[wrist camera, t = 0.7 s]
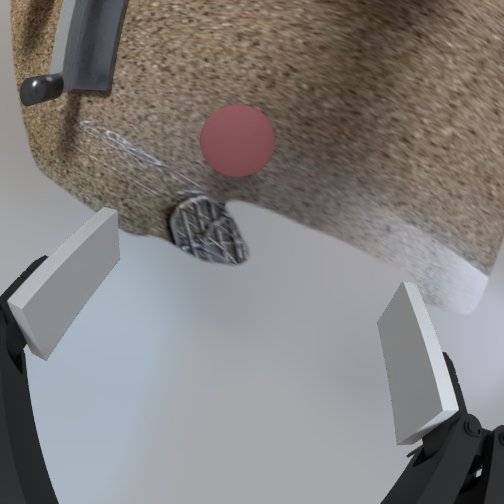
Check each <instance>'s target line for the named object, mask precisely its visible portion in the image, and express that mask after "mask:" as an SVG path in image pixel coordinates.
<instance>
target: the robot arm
mask: <svg viewBox="0 0 504 504" xmlns="http://www.w3.org/2000/svg"><path fill="white" fill-rule="evenodd" d="M119 260H120V252H119V236H118V210H115V209H110V208H106V207H103V208H102V209H101V210H100V211H98V212H97V213H96V214H95V215H94V216H93V217H91V218H90V219H89V220H88V221H87V222H86V223H85V224H83V225H82V226H81V227H80V228H79V229H78V230H77V231H76V232H74V233H73V235H71V236H70V237H69V238H68V239H67V240H66V241H65V242H64V243H63V244H62V245H60V246H59V247H58V249H56V250H55V251H54V252H53V253H52V254H51V255H50V256H49V257H48V256H46V255H45V256H43V257H41V258H39V259H37V260H35V261H34V262H33V263H32V264H31V265H30V266H29V267H28V268H27V269H26V271H24V272H23V273H22V274H21V275H20V277H18V278H17V279H16V280H15V281H14V282H13V283H12V284H11V285H10V287H9V288H8V289H7V290H6V291H5V292H4V293H3V294H2V295H1V296H0V504H59V503H58V500H57V498H56V495H55V492H54V489H53V487H52V484H51V481H50V478H49V475H48V471H47V469H46V465H45V462H44V458H43V454H42V451H41V447H40V443H39V439H38V435H37V431H36V426H35V421H34V416H33V411H32V405H31V399H30V392H29V385H28V378H27V369H26V358H25V353H24V350H23V348H24V347H25V346H26V344H28V346H29V348H30V350H31V352H32V353H33V354H35V355H36V356H38V357H40V358H42V359H44V360H45V361H47V359H48V358H49V356H50V355H51V353H52V351H53V350H54V349H55V347H56V346H57V344H58V343H59V341H60V340H61V338H62V337H63V335H64V334H65V332H66V331H67V329H68V328H69V326H70V325H71V324H72V322H73V321H74V319H75V318H76V317H77V315H78V314H79V312H80V311H81V310H82V308H83V307H84V306H85V304H86V303H87V301H88V300H89V299H90V297H91V296H92V295H93V293H94V292H95V291H96V289H97V288H98V287H99V285H100V284H101V283H102V282H103V280H104V279H105V277H106V276H107V275H108V274H109V273H110V271H111V270H112V269H113V268H114V266H115V265H116V264H117V262H118V261H119ZM377 324H378V329H379V334H380V338H381V344H382V349H383V354H384V359H385V364H386V370H387V376H388V382H389V387H390V393H391V394H390V395H391V401H392V408H393V416H394V424H395V433H396V442H397V445H410V444H414V443H415V442H417V441H418V440H420V439H421V438H422V441H423V445H421V446H420V447H418V448H417V449H415V450H413V451H412V452H410V453H409V454H408V455H407V457H410V456H411V455H413V454H414V456H413V458H412V459H411V461H410V462H409V464H408V465H407V467H406V468H405V470H404V472H403V473H402V474H401V476H400V478H399V479H398V480H397V482H396V483H395V485H394V486H393V487H392V489H391V490H390V492H389V493H388V494H387V496H386V497H385V498H384V500H383V501H382V502H381V504H504V425H500V426H498V427H497V428H495V429H494V430H493V431H490V430H486V429H483V428H482V427H481V424H480V422H479V420H478V419H477V418H476V417H475V416H473V415H472V414H468V413H467V410H466V406H465V402H464V399H463V395H462V391H461V388H460V385H459V383H458V378H457V375H455V374H456V372H455V368H454V365H453V363H452V361H451V359H450V358H449V356H448V355H447V353H446V352H442V351H441V348H440V345H439V342H438V339H437V336H436V333H435V331H434V328H433V325H432V323H431V320H430V318H429V315H428V312H427V310H426V308H425V305H424V302H423V300H422V297H421V295H420V293H419V290H418V288H417V285H416V284H414V283H410V282H406V281H402V283H401V284H400V286H399V288H398V289H397V291H396V293H395V295H394V296H393V298H392V300H391V301H390V303H389V304H388V306H387V308H386V309H385V311H384V313H383V314H382V316H381V317H380V319H379V320H378V322H377ZM480 469H482V472H481V475H480V476H479V477H476V473H477V471H478V470H480Z"/></svg>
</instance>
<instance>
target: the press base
mask: <svg viewBox="0 0 504 504" xmlns="http://www.w3.org/2000/svg"><path fill="white" fill-rule="evenodd" d="M128 2H129V0H88V1H87V4H86V9H85V13H84V17H83V21H82V26H81V31H80V36H79V41H78V47H77V53H76V60H75V67H74V74H73V83H72V89H84V90H105V91H107V90H111V88H112V81H113V74H114V68H115V62H116V56H117V51H118V45H119V40H120V35H121V31H122V26H123V22H124V18H125V13H126V9H127V6H128Z"/></svg>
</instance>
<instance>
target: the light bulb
mask: <svg viewBox="0 0 504 504" xmlns="http://www.w3.org/2000/svg"><path fill="white" fill-rule="evenodd" d="M200 145H201V150H202V153H203V156H204V158H205V159H206V161H207V162H208V164H209V165H210V166H211V167H212V168H213V169H215V170H216V171H218V172H220V173H222V174H224V175H227V176H232V177H243V176H247V175H251V174H253V173H255V172H257V171H259V170H260V169H261V168H263V167H264V166H265V165H266V164H267V162H268V161H269V160H270V158H271V156H272V154H273V151H274V147H275V133H274V130H273V127H272V125H271V123H270V121H269V120H268V118H267V117H266V116H265V115H264V114H263V113H262V112H260V111H259V110H257V109H255V108H253V107H250V106H247V105H241V104H235V105H229V106H226V107H223V108H221V109H219V110H217V111H216V112H214V113H213V114H212V115H211V116H210V117H209V118H208V120H207V121H206V122H205V124H204V126H203V128H202V132H201V136H200Z"/></svg>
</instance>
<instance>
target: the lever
mask: <svg viewBox="0 0 504 504" xmlns="http://www.w3.org/2000/svg"><path fill="white" fill-rule="evenodd" d="M87 1H88V0H63V4H62V8H61V12H60V16H59V21H58V26H57V31H56V36H55V42H54V48H53V54H52V61H51V69H50V74H48V75H42V76H36V77H31V78H27V79H26V80H24V82H23V83H22V85H21V88H20V99H21V102H22V103H23V104H24V105H25V106H31V105H34V104H38V103H41V102H45V101H49V100H53V99H56V98H58V97H59V96H60V95H61V94H62V93H65V92H69V91H72V83H73V74H74V67H75V60H76V53H77V47H78V41H79V36H80V31H81V26H82V21H83V17H84V13H85V9H86V4H87Z"/></svg>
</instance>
